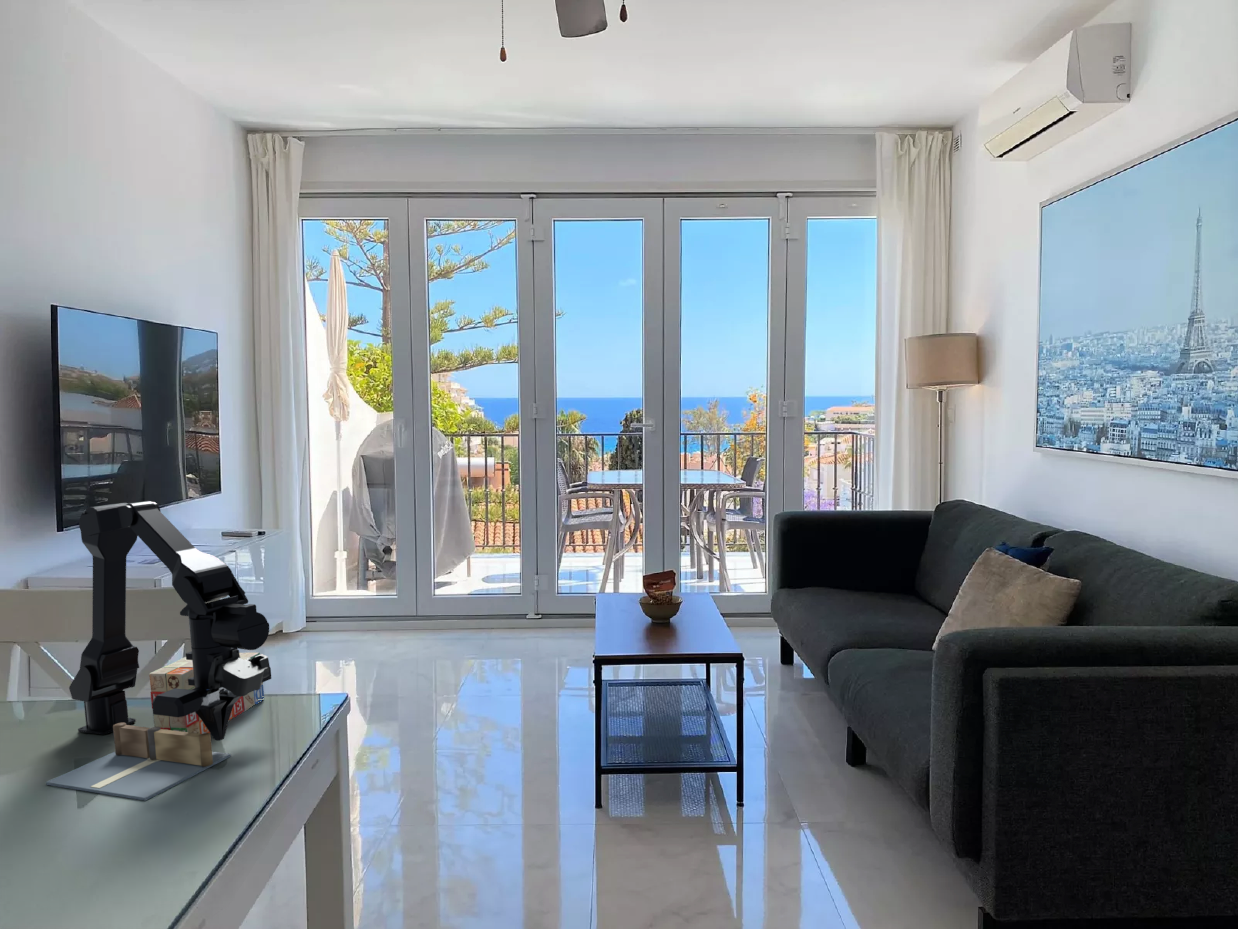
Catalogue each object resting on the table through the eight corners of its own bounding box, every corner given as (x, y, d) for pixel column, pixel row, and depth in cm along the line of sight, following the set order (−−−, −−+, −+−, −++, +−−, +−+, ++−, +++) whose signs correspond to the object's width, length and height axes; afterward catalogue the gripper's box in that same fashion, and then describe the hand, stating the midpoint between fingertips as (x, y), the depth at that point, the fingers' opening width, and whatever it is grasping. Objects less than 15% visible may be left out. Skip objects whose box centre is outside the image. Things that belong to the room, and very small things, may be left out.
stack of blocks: (235, 700, 163) (230, 636, 162) (265, 700, 162) (260, 636, 161) (154, 745, 142) (147, 672, 141) (188, 746, 141) (181, 672, 140)
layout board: (46, 784, 128) (45, 781, 128) (137, 744, 142) (137, 741, 142) (145, 800, 121) (145, 797, 121) (230, 756, 135) (230, 753, 135)
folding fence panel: (147, 759, 134) (144, 730, 134) (157, 754, 136) (154, 726, 136) (206, 767, 130) (203, 737, 130) (215, 762, 132) (213, 733, 131)
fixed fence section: (112, 754, 137) (110, 726, 137) (122, 749, 139) (120, 722, 138) (145, 758, 134) (143, 730, 134) (155, 754, 136) (153, 726, 136)
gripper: (202, 665, 124) (210, 769, 125) (293, 630, 142) (300, 723, 143) (145, 660, 128) (154, 761, 129) (241, 627, 146) (248, 717, 147)
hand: (219, 739), depth 137 cm, fingers closed
